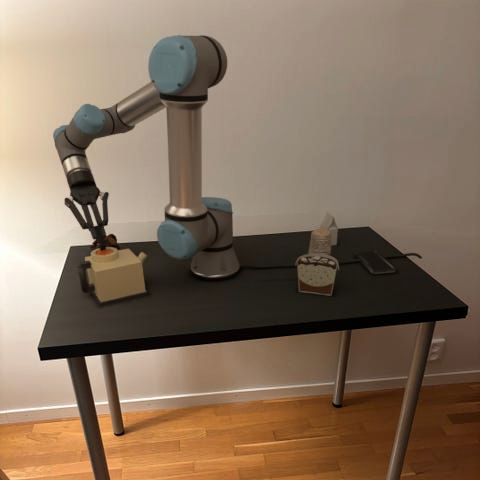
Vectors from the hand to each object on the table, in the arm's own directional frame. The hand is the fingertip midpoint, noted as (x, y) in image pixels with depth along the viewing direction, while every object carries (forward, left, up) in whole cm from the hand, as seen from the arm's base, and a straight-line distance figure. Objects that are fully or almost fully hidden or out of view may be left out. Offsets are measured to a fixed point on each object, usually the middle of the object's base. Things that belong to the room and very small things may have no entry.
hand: (103, 248), depth 140 cm
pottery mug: (+14, -24, -13) cm, 31 cm away
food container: (-59, -15, -13) cm, 62 cm away
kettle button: (0, 0, -3) cm, 3 cm away
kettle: (-3, +1, -13) cm, 13 cm away
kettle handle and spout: (-3, +1, -13) cm, 13 cm away
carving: (-57, -31, -13) cm, 66 cm away
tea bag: (-57, -54, -13) cm, 80 cm away
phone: (-74, -38, -13) cm, 84 cm away
